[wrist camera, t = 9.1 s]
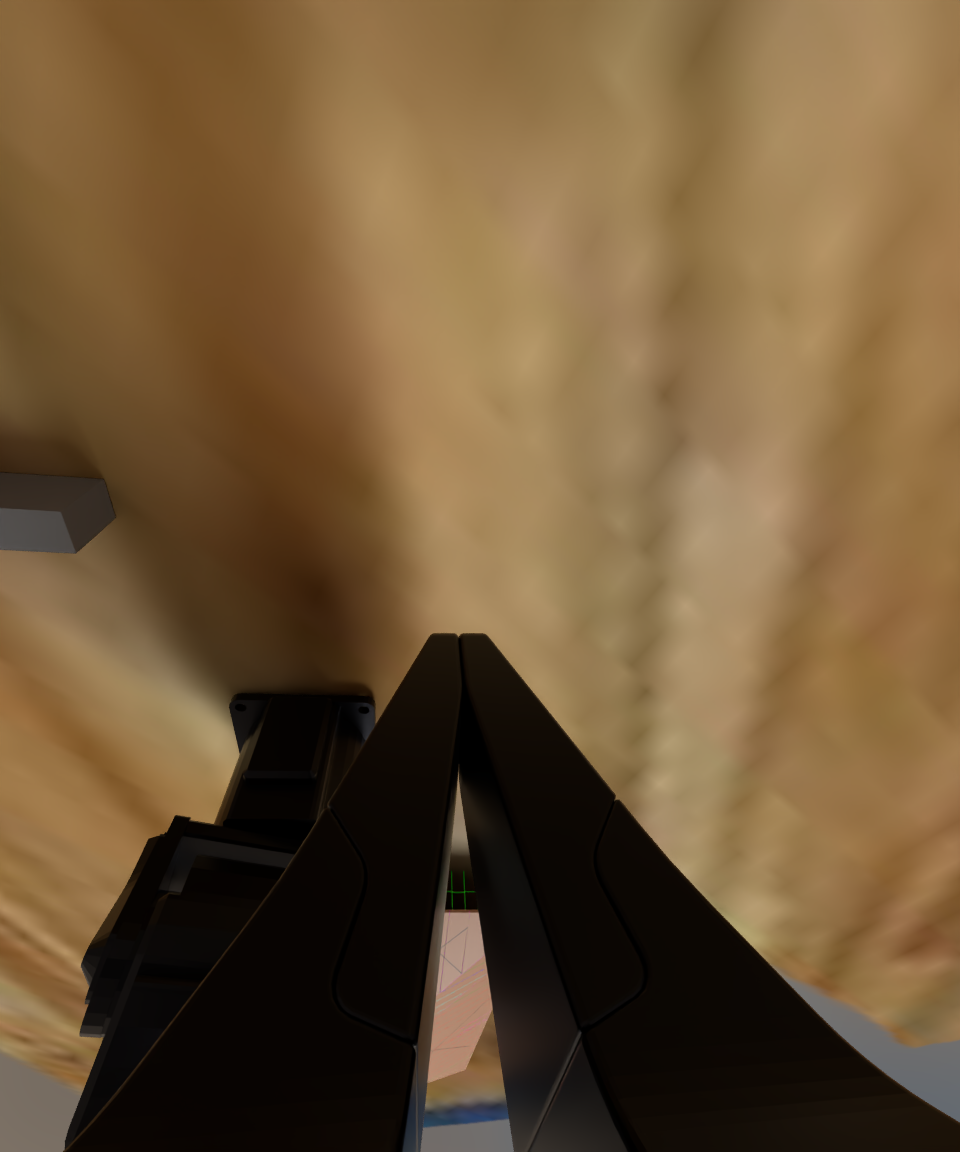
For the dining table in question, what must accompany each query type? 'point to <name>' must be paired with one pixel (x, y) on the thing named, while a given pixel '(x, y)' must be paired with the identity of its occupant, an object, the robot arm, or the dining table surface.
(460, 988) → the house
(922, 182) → the dining table surface
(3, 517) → the corral
